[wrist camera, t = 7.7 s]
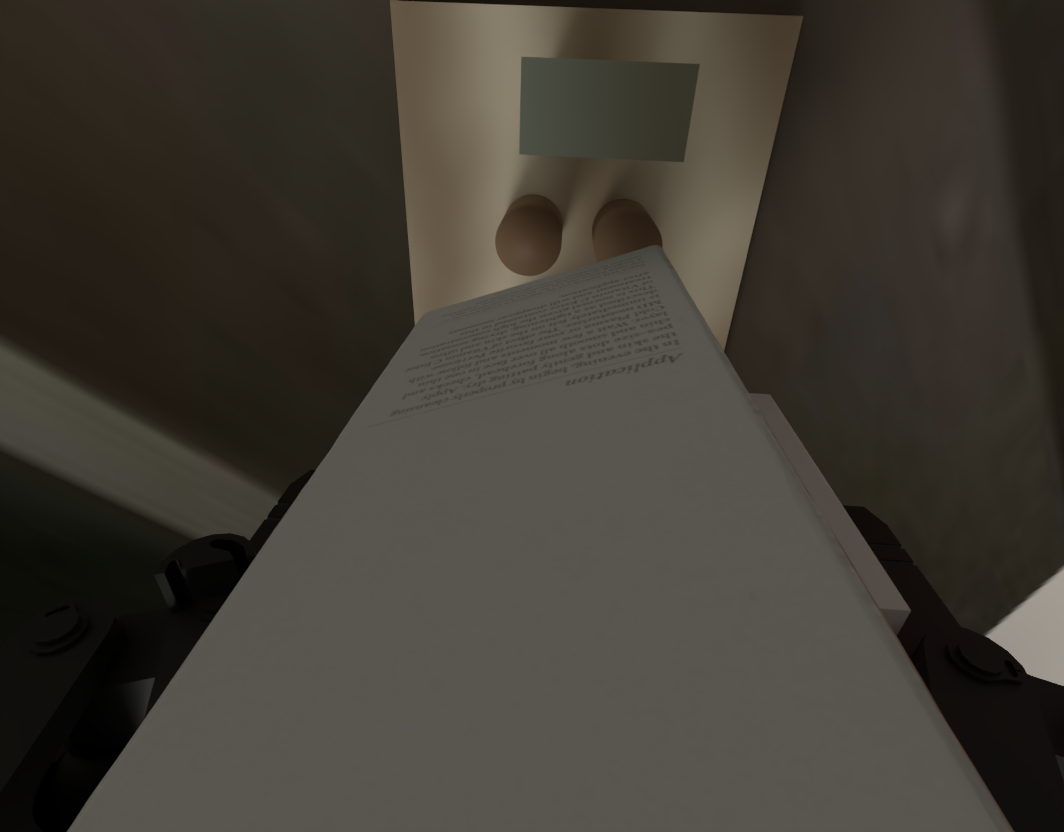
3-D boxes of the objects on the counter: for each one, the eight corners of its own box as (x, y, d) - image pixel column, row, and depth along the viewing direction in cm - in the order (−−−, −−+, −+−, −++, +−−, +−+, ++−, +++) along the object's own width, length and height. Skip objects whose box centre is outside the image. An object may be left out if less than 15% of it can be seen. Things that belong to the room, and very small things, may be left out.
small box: (715, 495, 16) (1015, 1343, 5) (517, 534, 18) (423, 1277, 7) (664, 231, 13) (1338, 1255, 2) (417, 305, 14) (-193, 1140, 3)
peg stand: (430, 459, 30) (347, 679, 19) (398, 4, 20) (168, -115, 8) (688, 476, 29) (760, 712, 18) (792, 19, 19) (1107, -85, 8)
